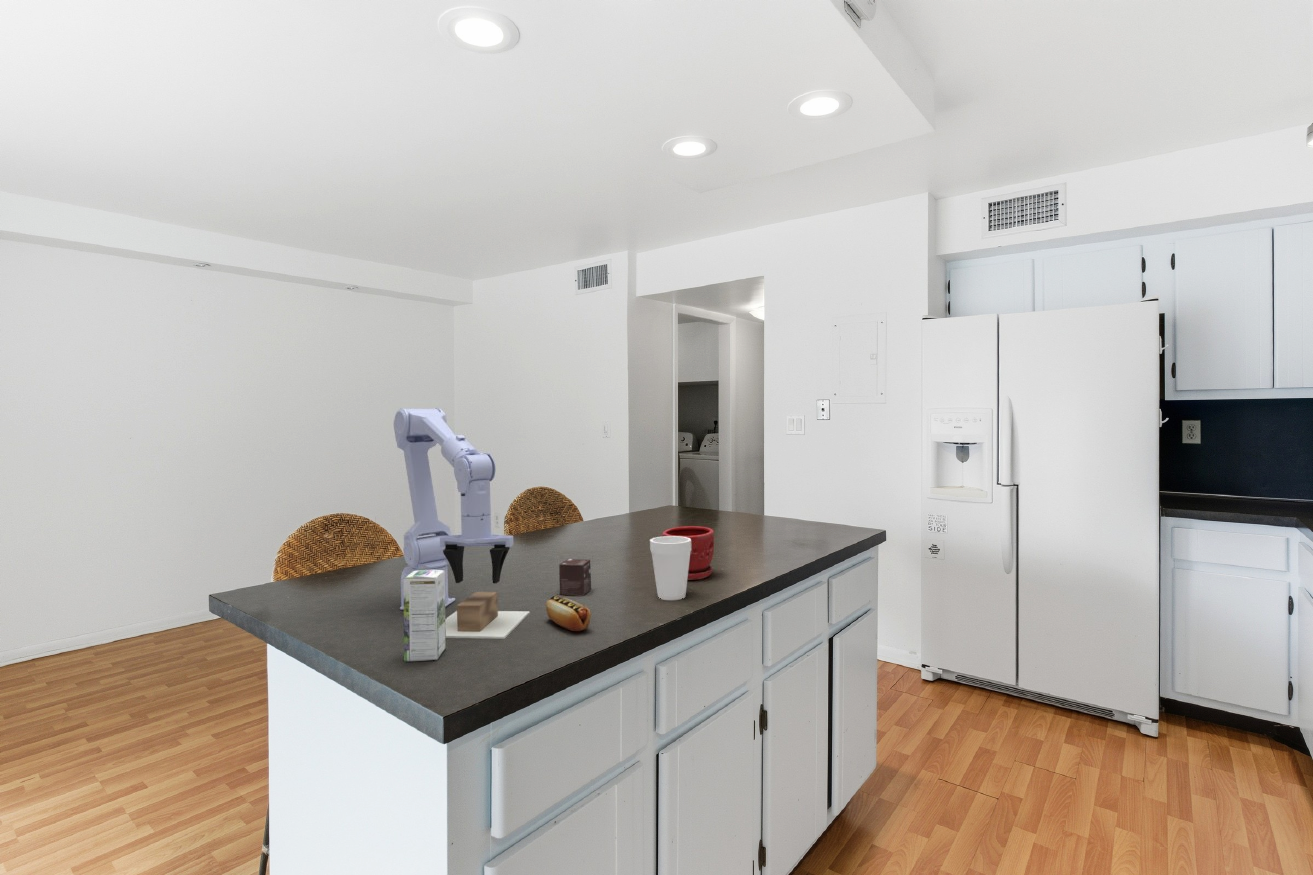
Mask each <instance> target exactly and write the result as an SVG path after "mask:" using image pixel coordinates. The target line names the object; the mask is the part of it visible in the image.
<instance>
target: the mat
mask: <svg viewBox="0 0 1313 875" xmlns="http://www.w3.org/2000/svg"><path fill="white" fill-rule="evenodd" d="M530 613H531V611H528V610H527V611H525V610H524V611H522V610H521V611H518V610H516V611H515V610H510V611H509V610H504V611H503V610H498V616H497V617H496V618H495V619H494V620H493V621H492V622H491V623H489V624H488V625H487V626H486V627H485V628H484V629H483V630H482V631H480V632H461V631H458V629H457V610H455V611H454V612H453V613H452V614H450V615H449V616H447V617H445V628H446V639H482V640H483V639H488V640H489V639H491V640H492V639H494V640H496V639H497V640H499V639H501V640H504V639H506V638H507V637H508V636H509V635H510V634H511V633H512V632H513V631H514V630H515V629H516V628H517V627H518V626H519V625H520V624H521V622H523V621H524V620H525V619H526V618H527V616H529V615H530Z"/></svg>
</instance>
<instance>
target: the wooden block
mask: <svg viewBox="0 0 1313 875" xmlns="http://www.w3.org/2000/svg"><path fill="white" fill-rule="evenodd" d="M498 604H499V602H498V591H476V592H474V593H472V594H471V595H470V596H468V597H467V598H466V599H465V600H463V601H461V602H460V603H458V604H457V605H456V611H457V629H458V631H461V632H480V631H482V630H483V629H484V628H485V627H486V626H487V625H488V624H489V623H491V622H492V621H493V620H494V619H495V618H496V617H497V616H498V611H499V608H498Z"/></svg>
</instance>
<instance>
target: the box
mask: <svg viewBox="0 0 1313 875" xmlns="http://www.w3.org/2000/svg"><path fill="white" fill-rule="evenodd" d="M558 567H559V568H558V570H559V571H558V572H559V573H558V575H559V576H558V578H559V596H560V595H561V596H578V597H580V596H582V597H583V596H585V595H587V594H588V593H589V592H590V591H591V590H592V575H591V574H592V573H591V571H592V570H591V569H592V568H591V567H592V566H591V559H581V558H578V559H575V558H573V559H572V558H569V559H566V560H564V561H562V562H560V563H559V565H558Z"/></svg>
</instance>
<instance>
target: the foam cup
mask: <svg viewBox="0 0 1313 875" xmlns="http://www.w3.org/2000/svg"><path fill="white" fill-rule="evenodd" d="M649 550H650V553H651V557H652V558H651V559H652V566H653V571H654V580H655V585H656V593H657V594H656V595H657V598H658V597H659V598H658V599H660V598H661V599H660V600H664V601H678V600H682V598H683V599H684V598H686V594H687V584H688V580H687V578H688V569H689V559H690V551H691V539H690V538H687V537H680V536H664V537H663V536H657V537H656V536H655V537H652V538H650V539H649Z"/></svg>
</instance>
